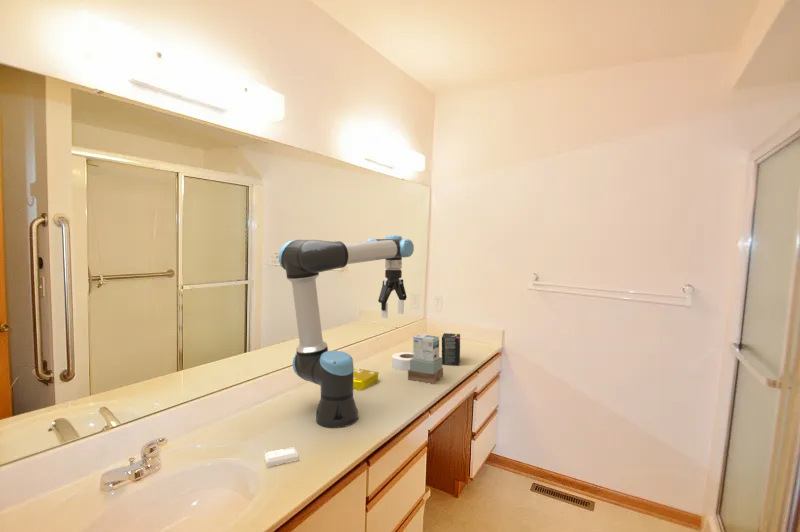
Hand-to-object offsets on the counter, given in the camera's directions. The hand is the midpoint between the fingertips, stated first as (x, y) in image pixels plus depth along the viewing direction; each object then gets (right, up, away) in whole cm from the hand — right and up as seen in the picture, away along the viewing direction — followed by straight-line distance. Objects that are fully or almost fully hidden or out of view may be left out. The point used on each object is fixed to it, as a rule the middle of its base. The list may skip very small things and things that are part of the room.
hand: (392, 315), depth 185 cm
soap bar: (-31, -34, -67) cm, 81 cm away
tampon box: (+30, -29, +30) cm, 52 cm away
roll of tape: (+7, -29, +24) cm, 39 cm away
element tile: (-16, -31, -1) cm, 35 cm away
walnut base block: (+15, -31, +5) cm, 34 cm away
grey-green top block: (+16, -26, +4) cm, 30 cm away
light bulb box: (+16, -21, +4) cm, 26 cm away
